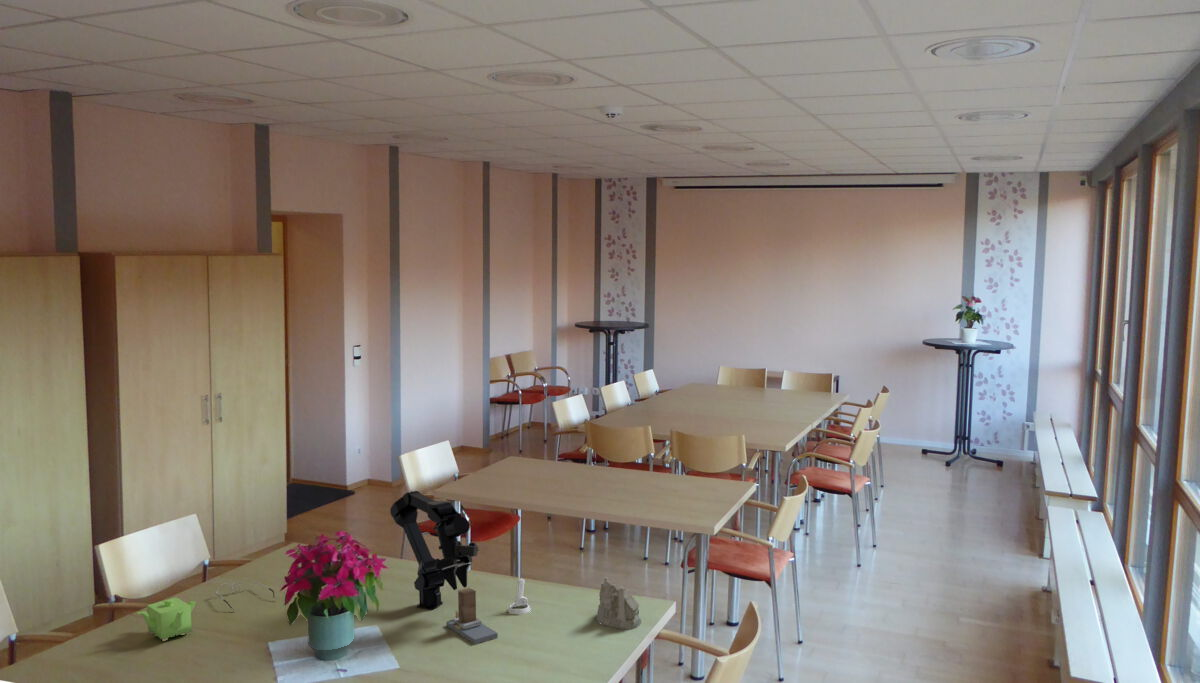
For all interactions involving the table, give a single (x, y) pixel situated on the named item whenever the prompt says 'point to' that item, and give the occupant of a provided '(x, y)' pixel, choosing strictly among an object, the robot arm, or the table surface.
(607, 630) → the table surface
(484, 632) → the tensioner track
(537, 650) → the table surface
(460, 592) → the brown wooden block
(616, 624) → the ceramic cottage
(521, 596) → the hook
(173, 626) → the kettle
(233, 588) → the eyeglasses
